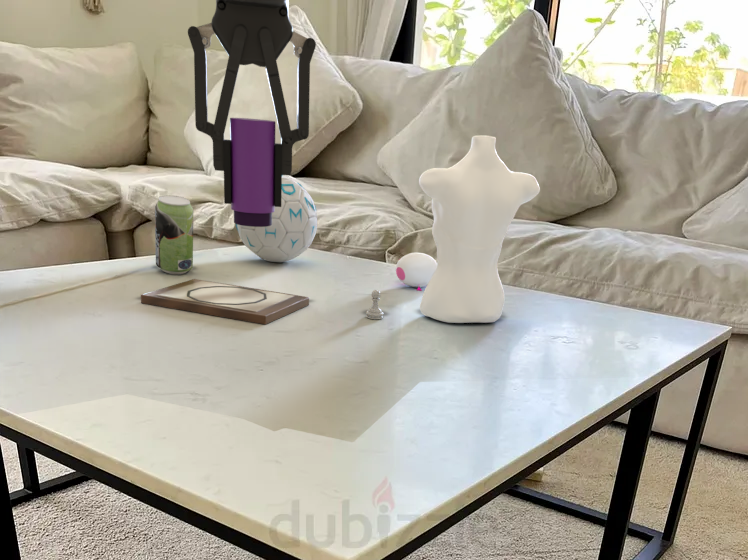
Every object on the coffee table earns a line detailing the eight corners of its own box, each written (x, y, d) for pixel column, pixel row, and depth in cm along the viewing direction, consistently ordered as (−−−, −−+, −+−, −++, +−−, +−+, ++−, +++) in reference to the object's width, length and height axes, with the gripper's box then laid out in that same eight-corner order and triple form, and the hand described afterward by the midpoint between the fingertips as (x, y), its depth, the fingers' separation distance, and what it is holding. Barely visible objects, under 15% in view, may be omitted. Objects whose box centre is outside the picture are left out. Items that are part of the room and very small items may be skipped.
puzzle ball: (332, 263, 149) (335, 178, 142) (276, 272, 138) (276, 180, 131) (275, 250, 157) (276, 169, 150) (218, 257, 146) (215, 170, 139)
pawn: (372, 320, 113) (374, 292, 111) (362, 316, 114) (363, 288, 113) (386, 318, 114) (388, 291, 112) (376, 314, 116) (378, 287, 114)
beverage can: (181, 267, 136) (178, 193, 130) (203, 275, 131) (201, 199, 126) (148, 269, 132) (143, 193, 126) (170, 278, 127) (166, 200, 122)
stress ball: (429, 303, 139) (428, 267, 140) (445, 285, 132) (443, 248, 132) (389, 301, 137) (387, 264, 138) (402, 283, 130) (400, 244, 130)
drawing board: (140, 303, 112) (140, 293, 111) (194, 286, 124) (194, 277, 123) (265, 324, 106) (265, 314, 106) (309, 305, 118) (309, 295, 118)
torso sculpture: (500, 309, 125) (525, 136, 113) (529, 325, 117) (558, 141, 105) (394, 309, 119) (408, 128, 108) (416, 326, 111) (434, 132, 100)
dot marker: (223, 223, 90) (221, 117, 85) (245, 219, 95) (244, 117, 89) (261, 228, 89) (261, 121, 84) (281, 224, 93) (283, 121, 88)
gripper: (157, -55, 75) (170, 203, 86) (343, -33, 78) (333, 213, 89) (164, -44, 82) (175, 194, 92) (336, -24, 85) (327, 204, 96)
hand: (252, 203), depth 91 cm, fingers closed on dot marker, 5 cm apart
